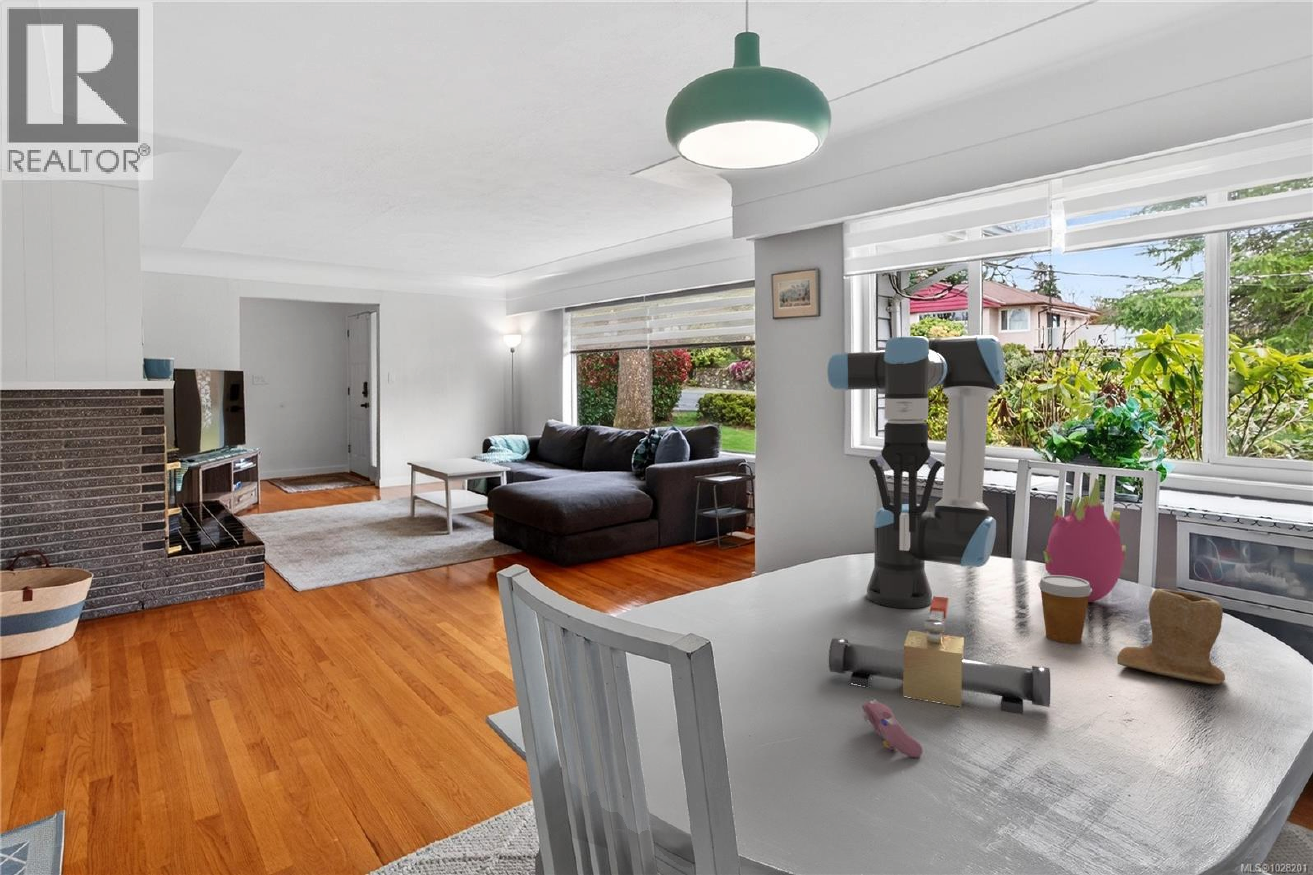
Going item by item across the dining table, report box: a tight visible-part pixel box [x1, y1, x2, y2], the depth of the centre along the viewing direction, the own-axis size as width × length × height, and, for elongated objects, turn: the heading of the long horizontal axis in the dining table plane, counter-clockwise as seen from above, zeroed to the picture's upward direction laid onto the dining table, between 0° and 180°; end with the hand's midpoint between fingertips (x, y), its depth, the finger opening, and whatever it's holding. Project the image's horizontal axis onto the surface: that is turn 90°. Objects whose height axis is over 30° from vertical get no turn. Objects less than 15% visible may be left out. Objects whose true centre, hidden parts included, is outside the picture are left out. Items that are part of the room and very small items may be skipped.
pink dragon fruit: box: [1043, 478, 1127, 603], centre depth 166 cm, size 18×14×30 cm
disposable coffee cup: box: [1037, 574, 1092, 644], centre depth 144 cm, size 10×10×12 cm
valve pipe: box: [828, 630, 1051, 715], centre depth 119 cm, size 8×34×11 cm, turn 64°
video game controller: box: [861, 698, 923, 759], centre depth 103 cm, size 10×5×7 cm, turn 6°
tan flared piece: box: [1116, 588, 1226, 685], centre depth 126 cm, size 15×12×15 cm
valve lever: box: [923, 595, 949, 633], centre depth 125 cm, size 16×3×2 cm, turn 154°
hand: (904, 548), depth 130 cm, fingers closed
